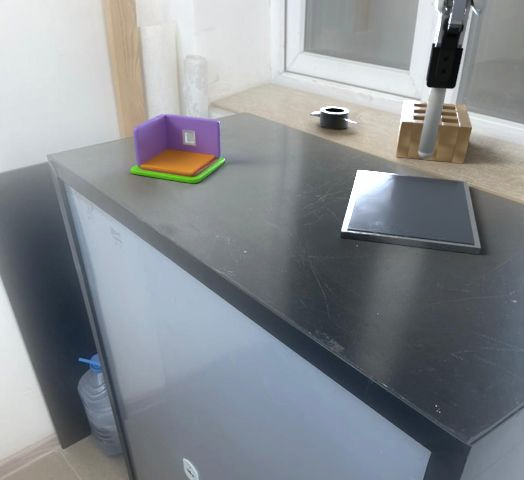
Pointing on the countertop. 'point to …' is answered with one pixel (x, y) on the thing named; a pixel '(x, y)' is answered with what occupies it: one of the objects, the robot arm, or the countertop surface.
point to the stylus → (431, 122)
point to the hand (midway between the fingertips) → (440, 84)
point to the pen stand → (448, 137)
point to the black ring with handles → (333, 117)
